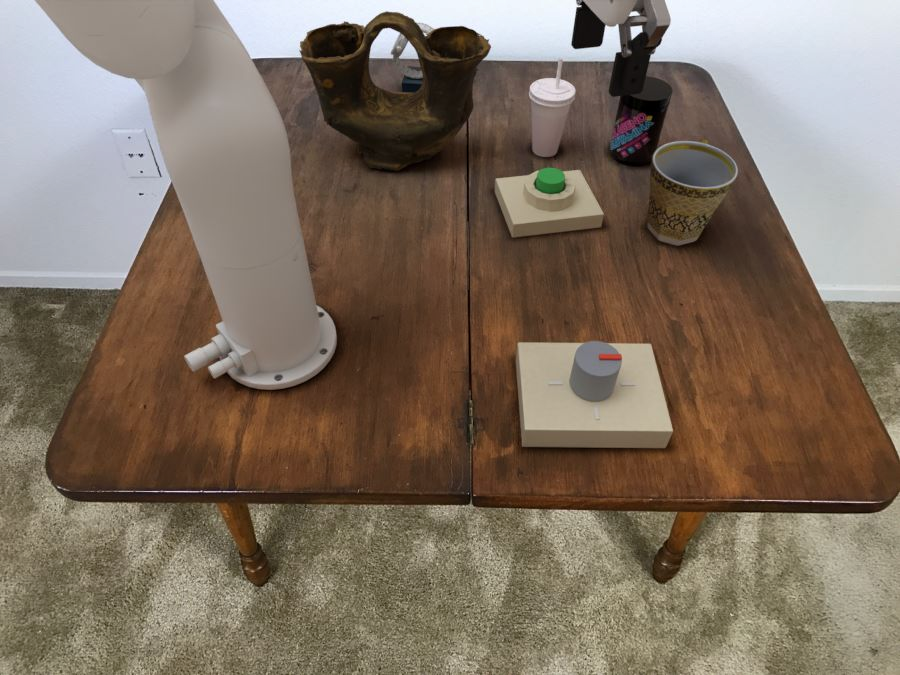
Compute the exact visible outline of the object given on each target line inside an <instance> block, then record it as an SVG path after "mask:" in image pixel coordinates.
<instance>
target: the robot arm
mask: <svg viewBox="0 0 900 675" xmlns="http://www.w3.org/2000/svg"><path fill="white" fill-rule="evenodd" d="M34 1H35V3H36V4H37V5H38V6H39V7H40V9H41V10H42V11H43V12H44V14H45V15H46V16H47V17H48V18H49V20H50V21H51V22H52V23H53V24H54V25H55V27H56V28H57V29H58V30H59V32H60V33H61V34H62V35H63V36H64V38H65V39H67V41H68V42H69V43H70V44H71V45H72V46H73V47H74V48H75V49H76V51H78V52H79V53H80V54H81V55H82V56H84V57H85V58H86V59H88V60H89V61H91V62H92V63H93V64H94V65H96V66H97V67H99V68H101V69H103V70H105V71H107V72H109V73H111V74H114V75H116V76H120V77H122V78H126V79H131V80H134V81H135V82H136V83H137V84H138V86H139V87H140V88H141V89H142V91H143V92H144V94H145V97H146V98H145V99H146V102H147V104H148V110H149V114H150V117H151V118H150V119H151V121H152V125H153V130H154V133H155V135H156V139H157V140H156V141H157V143H158V147H159V151H160V153H161V156H162V159H163V164H164V165H165V169H166V172H167V174H168V177H169V179H170V182H171V184H172V186H173V188H174V191H175V193H176V196H177V198H178V201H179V204H180V206H181V209H182V212H183V214H184V217H185V220H186V223H187V225H188V228H189V231H190V234H191V237H192V240H193V242H194V245H195V248H196V250H197V252H198V255H199V258H200V261H201V264H202V266H203V270H204V272H205V275H206V278H207V281H208V283H209V286H210V289H211V292H212V294H213V297H214V300H215V302H216V306H217V310H218V311H219V315H220V318H221V321H220V322H218V323H216V324H215V327H216V330H217V333H218V334H217V335H215V336H213V337H211V339H210V341H211V342H210V343H208V344H205V345H204V346H202V347H197V348H196V349H194V350H192V351H190V352H189V353H186V354H184V355H183V358H184V360H185V362H186V364H187V366H188V367H189V368H190V370H191V371H192V372H193V373H195V372H197V371H198V370H200V369H202V368H204V367H206V366H207V365H209V364H210V363H211V362H213V361H215V360H217V359H218V358H219V360H218V361H216V362H214V363H213V364H211V365H209V366H207V369H208V372H209V373H210V375H211V376H212V378H213V379H217V378H219V377H220V376H222V375H224V374H226V373H227V374H228V375H229V377H230V378H232V379H233V380H234V381H236V382H237V383H239V384H240V385H244V386H245V387H248V388H252V389H257V390H268V391H269V390H270V391H273V390H282V389H286V388H291V387H295V386H298V385H300V384H302V383H305V382H307V381H308V380H310V379H312V378H314V377H316V375H318V374H319V373H320V372H321V371H322V370H323V369H325V367H326V366H327V365H328V364H329V363H330V361H331V359H332V358H333V356H334V354H335V351H336V348H337V344H338V335H337V329H336V324H335V322H334V320H333V318H332V317H331V316H330V314H329V313H328V312H327V311H325V310H324V309H323V307H321V306H319V305H317V301H316V296H315V290H314V287H313V286H314V285H313V282H312V277H311V271H310V266H309V261H308V256H307V250H306V247H305V246H306V245H305V240H304V235H303V230H302V226H301V222H300V218H299V213H298V207H297V202H296V196H295V190H294V184H293V174H292V158H291V157H292V156H291V148H290V143H289V138H288V134H287V130H286V127H285V123H284V121H283V117H282V115H281V113H280V111H279V108H278V106H277V104H276V102H275V100H274V98H273V96H272V94H271V92H270V90H269V88H268V86H267V84H266V82H265V81H264V78H263V77H262V75H261V74H260V72H259V70H258V69H257V67H256V64H255V62H254V61H253V59H252V57H251V56H250V53H249V52H248V50H247V48H246V46H245V45H244V43H243V42H242V40H241V38H240V37H239V36H238V34H237V33H236V31H235V30H234V28H233V27H232V26H231V24H230V22H229V20H228V19H227V18H226V17H225V15H224V13H223V11H222V10H221V9H220V8H219V6H218V5H217V3H216V2H215V0H34ZM575 3H576V5H577V6H576V10H575V15H574V16H575V17H574V23H573V29H572V37H571V42H570V45H571V47H572V48H573V49H574V50H581V49H590V48H599V47H601V46H602V45H603V43H604V37H605V31H606V26H607V27H610V28H614V27H616V26H617V25H618V34H619V44H620V51H618V52H615V56H614V62H613V65H612V66H613V67H612V72H611V77H610V82H609V86H608V94H609V95H610V96H611V97H612V98H615V97H620V96H624V95H633V94H639V93H641V92H642V90H643V87H644V82H645V78H646V76H647V74H648V69H649V65H650V61H651V57H652V55H654V54H655V53H656V50H657V48H658V47H659V46H660V45H661V44H662V41H663V37H664V35H665V34H666V32H667V31H668V29H669V28H670V26H671V22H672V20H671V14H670V12H669V9H668V6H667V3H666V0H575ZM634 12H636V13H637V14H638V15H631V14H632V13H634ZM632 27H633V28H634V27H641V30H642V31H640V32H639V33H638V34H637V35H636V36H634V37H633V38H632Z"/></svg>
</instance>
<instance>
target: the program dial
mask: <svg viewBox="0 0 900 675" xmlns="http://www.w3.org/2000/svg"><path fill="white" fill-rule="evenodd" d="M583 343H584V344H582V345H581V346H580V347H579V348H578V349H577V350H576V353H575V357H574V362H573V366H572V370H571V375H570V380H569V382H570V387H571V389H572V390H573V392H574V393H575V394H576V395H577V396H579V397H580V398H582V399H585V400H588V401H602V400H604V399H606V398H608V397H609V396H610V395H611V394H612V393H613V390H614V387H615V384H616V381H617V377H618V374H619V371H620V368H621V364H622V355H621V354H619V352H618V351H617V350H616V349H615V348H614V347H613V346H611V345H609V344H607V343H608V342H604V341H600V340H590V341H586V342H583Z"/></svg>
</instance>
